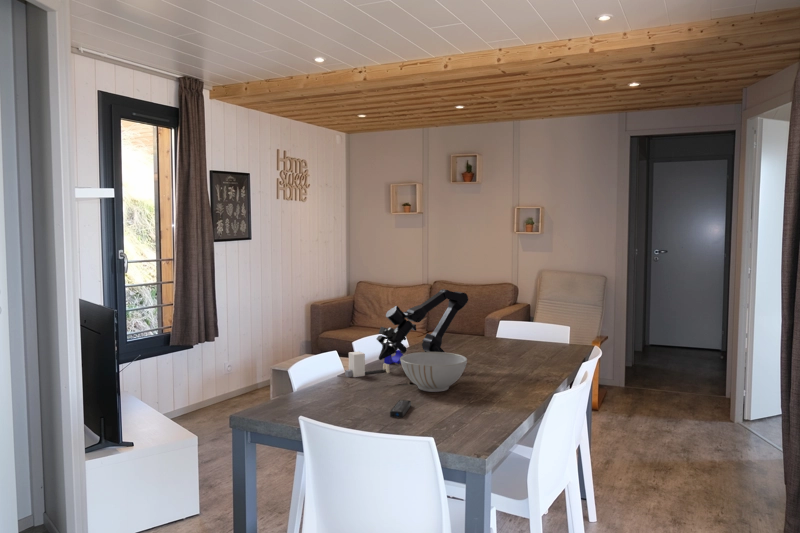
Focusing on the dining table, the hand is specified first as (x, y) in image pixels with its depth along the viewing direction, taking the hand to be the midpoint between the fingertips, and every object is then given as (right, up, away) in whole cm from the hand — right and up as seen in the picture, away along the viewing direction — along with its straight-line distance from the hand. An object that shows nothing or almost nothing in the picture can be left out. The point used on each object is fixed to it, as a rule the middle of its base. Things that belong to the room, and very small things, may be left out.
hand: (379, 359), depth 264 cm
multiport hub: (+9, -11, -52) cm, 54 cm away
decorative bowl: (+22, -9, -20) cm, 31 cm away
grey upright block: (-9, -6, -5) cm, 12 cm away
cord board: (-5, -7, -2) cm, 9 cm away
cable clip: (+5, -6, +23) cm, 25 cm away
